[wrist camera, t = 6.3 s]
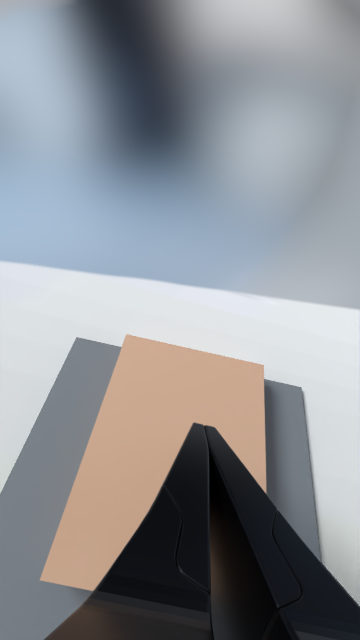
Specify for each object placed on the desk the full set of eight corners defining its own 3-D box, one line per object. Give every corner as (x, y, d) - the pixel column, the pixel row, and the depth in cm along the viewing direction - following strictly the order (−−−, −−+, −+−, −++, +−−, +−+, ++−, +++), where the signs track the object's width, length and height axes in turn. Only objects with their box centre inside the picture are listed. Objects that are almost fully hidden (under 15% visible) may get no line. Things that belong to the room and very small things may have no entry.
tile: (269, 626, 10) (263, 365, 16) (39, 580, 9) (126, 334, 16) (250, 601, 11) (252, 373, 18) (55, 561, 11) (128, 346, 18)
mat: (348, 863, 8) (356, 880, 8) (-132, 775, 8) (-144, 789, 8) (298, 388, 18) (301, 387, 18) (77, 339, 18) (76, 337, 17)
